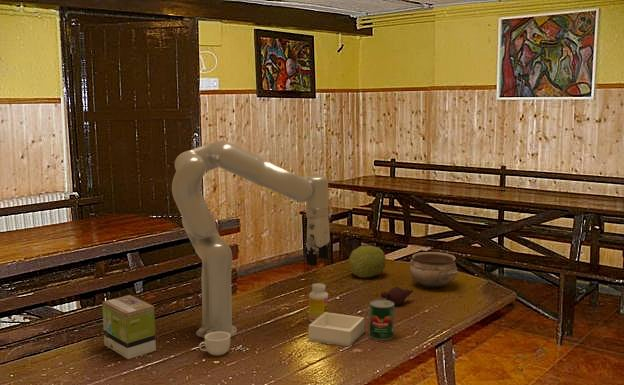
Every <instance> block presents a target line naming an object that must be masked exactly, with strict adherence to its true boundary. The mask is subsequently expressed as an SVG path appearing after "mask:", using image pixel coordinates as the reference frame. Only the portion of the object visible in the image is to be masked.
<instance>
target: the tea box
mask: <svg viewBox="0 0 624 385" xmlns="http://www.w3.org/2000/svg"><path fill="white" fill-rule="evenodd" d="M101 303H102V304H101V305H102V309H101V310H102V322H103V324H102V326H103V339H104V340H103V342H104V346H105V347H107V348H108V349H111V350H112V351H114V352H116V353H117V354H119V355H120V356H122V357H123V358H125V359H127V360H131V359H134V358H137V357H140V356H143V355H147V354H149V353H153V352H156V350H157V346H156V345H157V342H156V320H155V319H156V318H155V316H156V315H155V314H156V313H155V306H154V305H152V304H150V303H148V302H147V301H144V300H141V299H139V298H137V297H135V296H133V295H131V294H127V295H124V296H120V297H117V298H112V299H109V300H104V301H102V302H101Z"/></svg>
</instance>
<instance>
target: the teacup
mask: <svg viewBox="0 0 624 385" xmlns="http://www.w3.org/2000/svg"><path fill="white" fill-rule="evenodd" d="M202 345H204V346H205V348H202V347H201V346H202ZM230 347H231V337H230V334H229V333H227V332H222V331H218V332H211V333H208V334H206V335H205V338H204V341H202V342H200V343H199V345H198V348H199V349H200V351H203V352H207V353H208V354H210V355H211V356H222V355H225V354H226V353H227V352H228V351H229V350H230Z"/></svg>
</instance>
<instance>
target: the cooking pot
mask: <svg viewBox="0 0 624 385" xmlns="http://www.w3.org/2000/svg"><path fill="white" fill-rule="evenodd" d="M411 257H412V258H411V259H410V266H409V272H410V274H411V277H412V279H414V280H415V281H416V282H417V283H418V284H420V285H422V286H424V287H425V288H427V289H433V288H436V289H440V287H441V288H442V287H444V286H446V285H448V284H450V283H452V282H453V281H454V280H455V279H456V277H457V275H458V274H459V271H458V268H457V264H456V263H457V262H456V261H455V260H456V259H457V258H456V256H455V255H453V254H450V253H445V252H437V251H422V252H417V253H414V254H412V255H411Z"/></svg>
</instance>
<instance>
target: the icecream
mask: <svg viewBox="0 0 624 385" xmlns="http://www.w3.org/2000/svg"><path fill="white" fill-rule="evenodd" d="M413 292H414V289H413V290H412V289H405V288H401V287H399V286H397V285H395V286H394V287H393V288H390V290H389V291H388V292H387V291H382V292H381V293H380V297H381V298H382V299H385V300H389V301H392V302H394V306H396V305H397V306H399V305H400V306H401V305H403V304H404V303H405V301H406V299H407V298H408V297H409V296H410V295H411V294H413Z"/></svg>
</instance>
